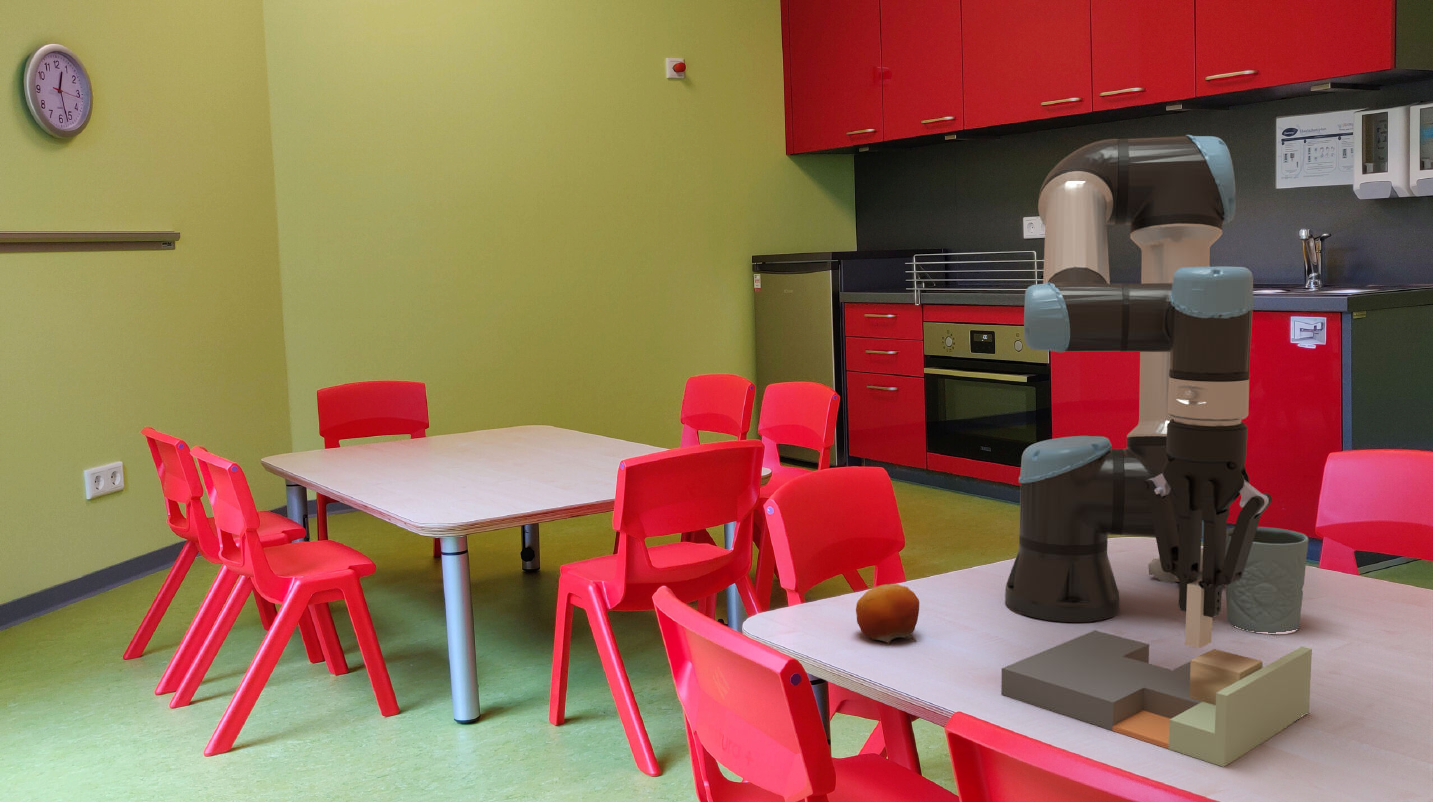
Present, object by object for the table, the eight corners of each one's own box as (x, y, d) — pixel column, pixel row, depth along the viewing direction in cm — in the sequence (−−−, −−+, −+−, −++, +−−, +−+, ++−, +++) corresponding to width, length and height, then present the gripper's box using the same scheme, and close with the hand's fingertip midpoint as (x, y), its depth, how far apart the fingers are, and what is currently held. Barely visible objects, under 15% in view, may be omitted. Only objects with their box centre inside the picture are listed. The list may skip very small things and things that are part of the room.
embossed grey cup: (1265, 640, 144) (1269, 547, 142) (1201, 618, 153) (1205, 530, 151) (1322, 629, 148) (1327, 538, 146) (1257, 608, 157) (1261, 522, 155)
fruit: (889, 643, 140) (870, 581, 143) (858, 659, 147) (840, 599, 150) (942, 633, 144) (922, 572, 147) (909, 648, 150) (890, 590, 153)
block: (1189, 697, 118) (1190, 660, 117) (1212, 685, 121) (1214, 648, 121) (1237, 711, 114) (1239, 672, 114) (1260, 698, 117) (1262, 661, 117)
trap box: (1001, 694, 127) (1002, 633, 127) (1094, 654, 140) (1095, 598, 139) (1223, 766, 109) (1226, 695, 108) (1308, 713, 121) (1311, 648, 120)
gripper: (1128, 417, 119) (1121, 636, 122) (1254, 430, 109) (1244, 669, 112) (1164, 409, 124) (1157, 621, 127) (1289, 422, 114) (1278, 650, 117)
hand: (1198, 643), depth 120 cm, fingers closed
